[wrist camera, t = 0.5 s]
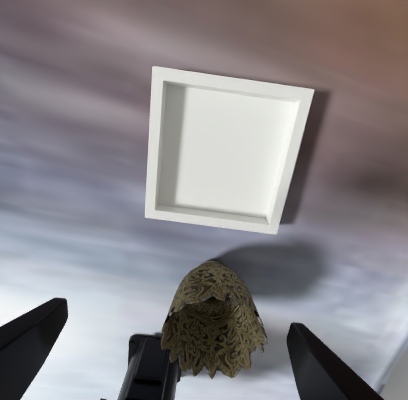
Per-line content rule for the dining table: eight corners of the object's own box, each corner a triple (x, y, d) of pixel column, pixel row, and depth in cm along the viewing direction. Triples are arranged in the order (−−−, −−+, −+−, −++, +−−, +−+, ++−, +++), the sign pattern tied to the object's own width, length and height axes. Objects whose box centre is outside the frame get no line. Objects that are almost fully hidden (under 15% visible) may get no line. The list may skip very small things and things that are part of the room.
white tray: (272, 225, 21) (278, 234, 19) (150, 209, 21) (144, 217, 19) (305, 94, 17) (317, 89, 16) (158, 72, 17) (152, 65, 15)
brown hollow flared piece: (220, 311, 24) (226, 394, 17) (163, 280, 23) (142, 354, 16) (261, 264, 22) (289, 333, 15) (201, 227, 21) (197, 282, 14)
